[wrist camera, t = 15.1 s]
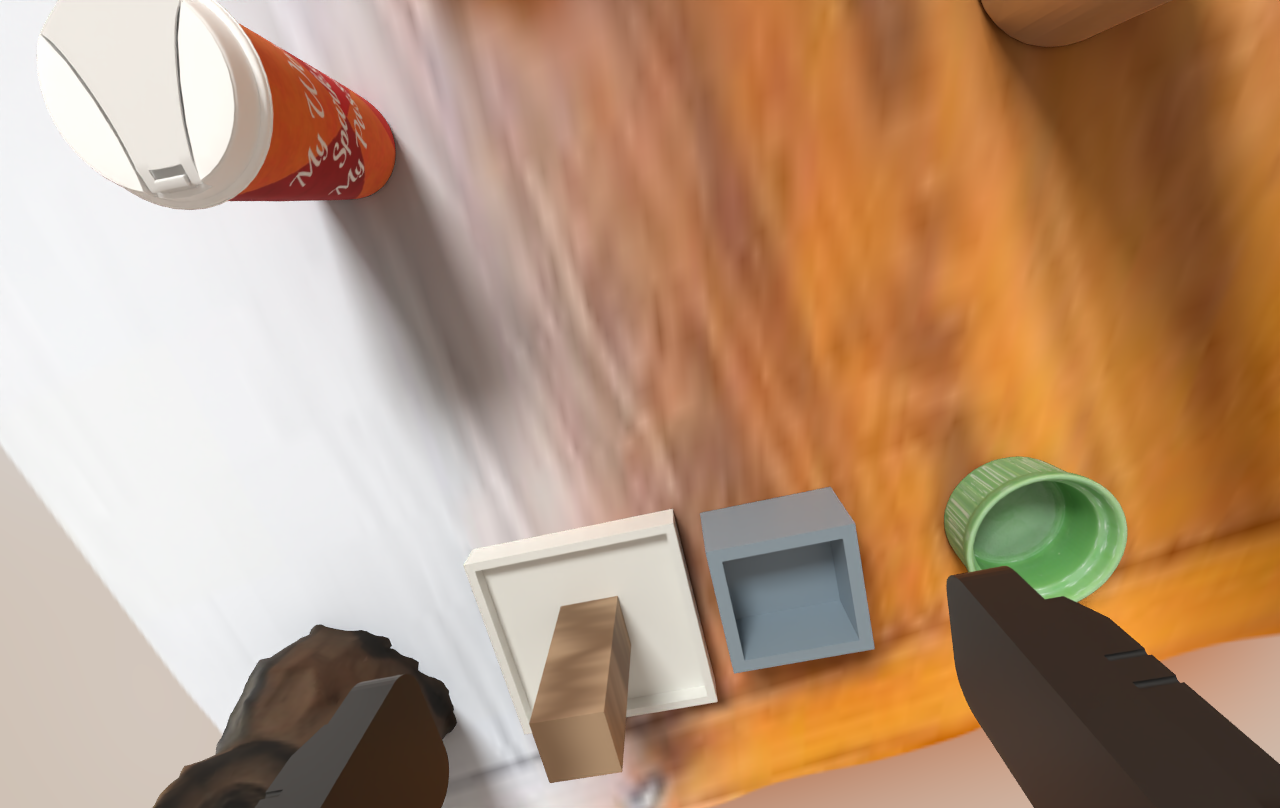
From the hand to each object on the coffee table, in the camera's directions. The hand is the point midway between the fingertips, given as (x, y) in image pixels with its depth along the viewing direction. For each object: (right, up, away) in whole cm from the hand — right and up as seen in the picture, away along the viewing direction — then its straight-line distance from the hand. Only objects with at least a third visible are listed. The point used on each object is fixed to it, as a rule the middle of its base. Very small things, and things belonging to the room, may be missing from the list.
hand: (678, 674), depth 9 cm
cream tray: (-4, -11, +33) cm, 35 cm away
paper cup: (-17, +19, +25) cm, 35 cm away
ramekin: (+23, -3, +30) cm, 38 cm away
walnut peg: (-4, -11, +32) cm, 34 cm away
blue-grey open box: (+9, -6, +31) cm, 33 cm away
